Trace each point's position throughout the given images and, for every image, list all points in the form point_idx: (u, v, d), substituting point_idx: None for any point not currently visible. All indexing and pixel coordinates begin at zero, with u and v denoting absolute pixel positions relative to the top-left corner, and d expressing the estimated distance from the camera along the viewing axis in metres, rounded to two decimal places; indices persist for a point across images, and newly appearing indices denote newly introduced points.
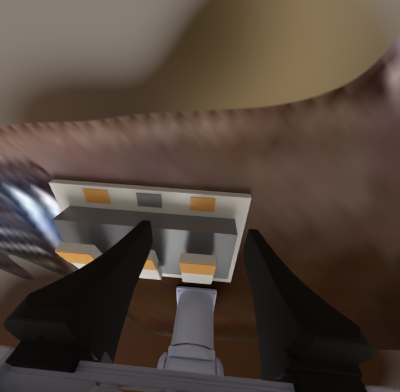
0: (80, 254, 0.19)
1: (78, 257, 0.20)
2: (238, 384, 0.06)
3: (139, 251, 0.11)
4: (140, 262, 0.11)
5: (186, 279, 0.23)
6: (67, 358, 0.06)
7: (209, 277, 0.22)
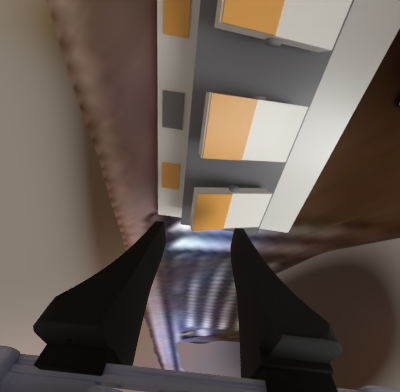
0: (198, 205, 0.14)
1: (208, 212, 0.15)
2: (238, 385, 0.06)
3: (155, 252, 0.11)
4: (155, 264, 0.11)
5: (323, 34, 0.10)
6: (95, 361, 0.06)
7: None
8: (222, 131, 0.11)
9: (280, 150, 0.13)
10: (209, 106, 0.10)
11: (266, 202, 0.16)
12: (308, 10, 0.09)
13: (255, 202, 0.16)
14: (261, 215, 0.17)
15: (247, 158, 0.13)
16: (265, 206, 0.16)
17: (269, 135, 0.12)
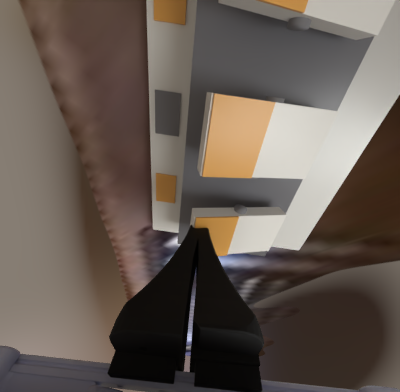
0: None
1: None
2: (238, 385, 0.06)
3: (195, 256, 0.11)
4: (194, 267, 0.11)
5: (369, 12, 0.07)
6: (168, 369, 0.06)
7: None
8: (228, 143, 0.09)
9: (299, 165, 0.10)
10: (211, 111, 0.08)
11: (279, 224, 0.13)
12: None
13: (266, 225, 0.13)
14: (272, 238, 0.14)
15: (258, 175, 0.10)
16: (277, 228, 0.13)
17: (287, 147, 0.10)
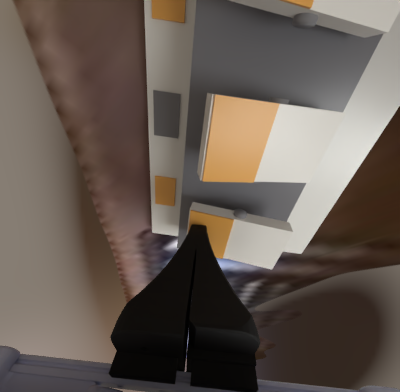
0: (191, 224, 0.12)
1: None
2: (238, 385, 0.06)
3: None
4: None
5: (380, 7, 0.06)
6: (169, 369, 0.06)
7: None
8: (229, 146, 0.08)
9: (304, 169, 0.10)
10: (211, 113, 0.07)
11: (283, 240, 0.12)
12: None
13: (267, 237, 0.12)
14: (276, 256, 0.12)
15: (261, 179, 0.10)
16: (282, 246, 0.12)
17: (291, 150, 0.09)
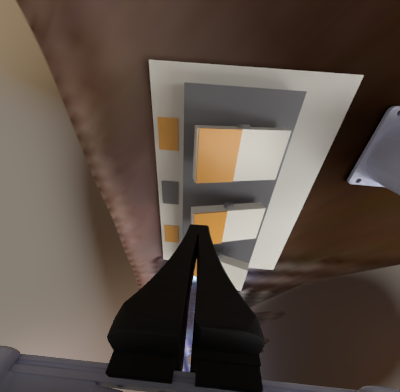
0: None
1: (196, 265, 0.21)
2: (238, 385, 0.06)
3: (194, 256, 0.11)
4: (193, 267, 0.11)
5: (267, 174, 0.14)
6: (166, 369, 0.06)
7: (258, 135, 0.12)
8: None
9: (250, 233, 0.18)
10: (193, 220, 0.15)
11: (243, 275, 0.19)
12: (253, 166, 0.13)
13: (233, 271, 0.19)
14: (241, 283, 0.20)
15: (225, 240, 0.18)
16: (243, 277, 0.19)
17: (240, 226, 0.17)
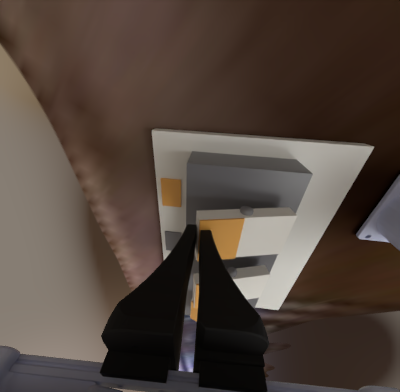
0: (192, 307, 0.21)
1: None
2: (238, 385, 0.06)
3: (191, 256, 0.11)
4: (190, 267, 0.11)
5: (271, 249, 0.14)
6: (160, 368, 0.06)
7: (261, 221, 0.12)
8: None
9: (254, 294, 0.17)
10: (195, 289, 0.15)
11: None
12: (256, 245, 0.13)
13: None
14: None
15: None
16: None
17: (243, 290, 0.17)
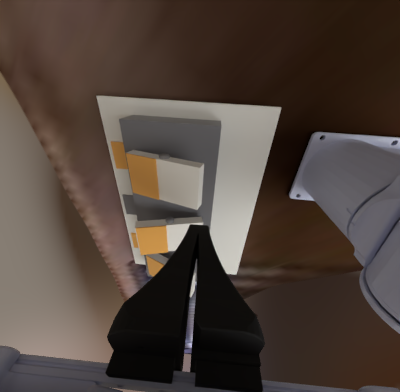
0: (148, 262, 0.23)
1: (154, 268, 0.23)
2: (238, 385, 0.06)
3: (194, 256, 0.11)
4: (193, 267, 0.11)
5: (187, 202, 0.15)
6: (166, 369, 0.06)
7: (170, 166, 0.14)
8: (149, 241, 0.18)
9: None
10: (136, 233, 0.17)
11: None
12: (173, 191, 0.15)
13: None
14: None
15: (172, 250, 0.20)
16: None
17: (182, 238, 0.19)
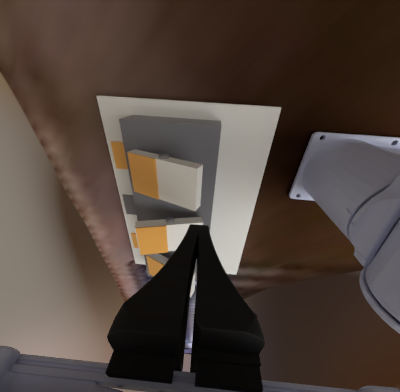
0: (148, 261, 0.23)
1: (154, 268, 0.23)
2: (238, 385, 0.06)
3: (194, 256, 0.11)
4: (193, 267, 0.11)
5: (185, 202, 0.15)
6: (166, 369, 0.06)
7: (168, 166, 0.14)
8: (149, 241, 0.18)
9: None
10: (136, 233, 0.17)
11: None
12: (172, 192, 0.15)
13: None
14: None
15: (172, 250, 0.20)
16: None
17: (182, 238, 0.19)
